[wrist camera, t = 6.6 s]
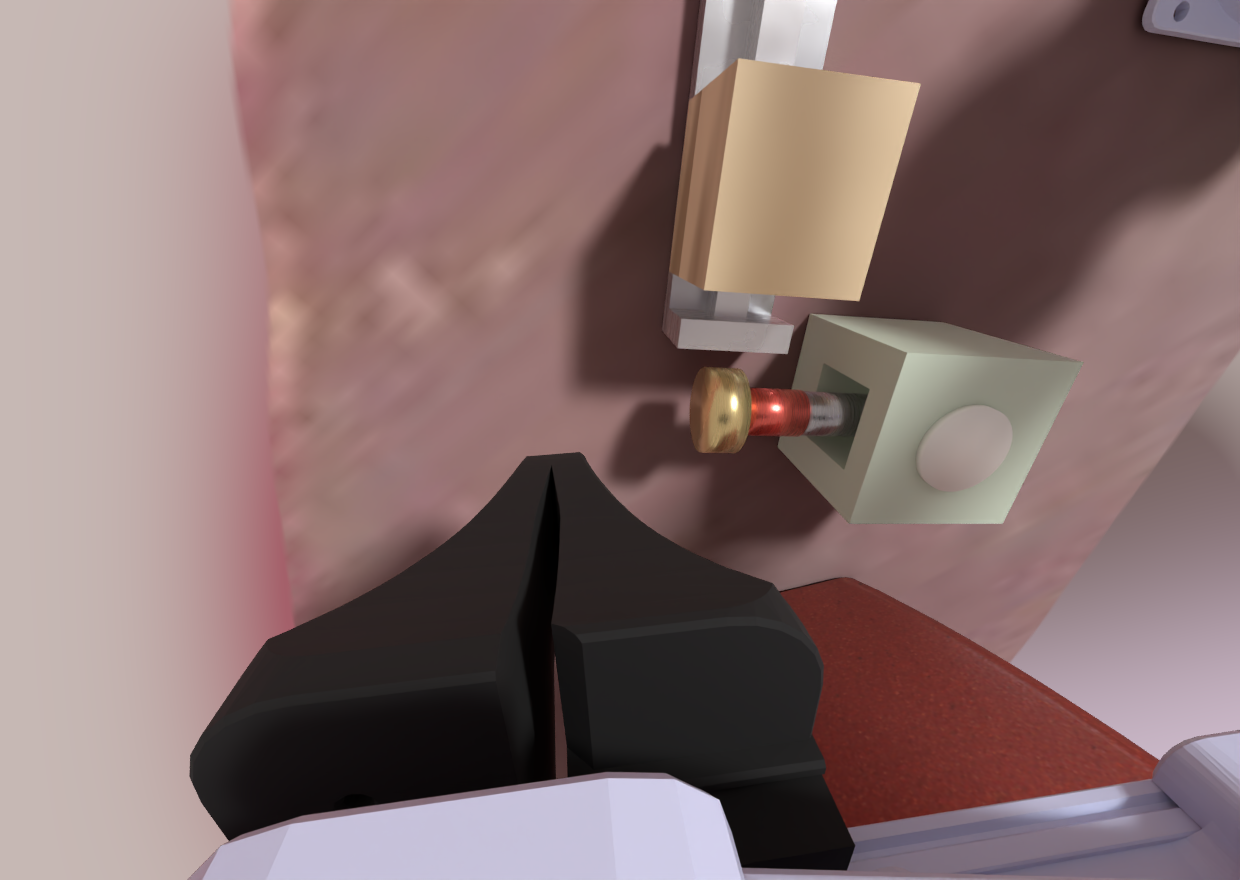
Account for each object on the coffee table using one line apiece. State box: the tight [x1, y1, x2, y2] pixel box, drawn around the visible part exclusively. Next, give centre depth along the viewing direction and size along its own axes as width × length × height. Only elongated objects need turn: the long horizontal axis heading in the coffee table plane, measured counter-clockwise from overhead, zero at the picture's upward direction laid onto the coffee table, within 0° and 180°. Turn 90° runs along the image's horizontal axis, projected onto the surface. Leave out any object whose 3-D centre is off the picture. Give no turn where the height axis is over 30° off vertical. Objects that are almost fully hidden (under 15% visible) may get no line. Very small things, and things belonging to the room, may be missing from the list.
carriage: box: [669, 58, 921, 301], centre depth 14 cm, size 4×5×4 cm
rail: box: [662, 0, 837, 354], centre depth 15 cm, size 4×16×3 cm, turn 175°
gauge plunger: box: [690, 367, 868, 453], centre depth 17 cm, size 7×3×3 cm, turn 85°
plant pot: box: [780, 577, 1160, 828], centre depth 21 cm, size 19×19×17 cm
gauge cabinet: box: [778, 314, 1084, 524], centre depth 18 cm, size 6×6×6 cm
